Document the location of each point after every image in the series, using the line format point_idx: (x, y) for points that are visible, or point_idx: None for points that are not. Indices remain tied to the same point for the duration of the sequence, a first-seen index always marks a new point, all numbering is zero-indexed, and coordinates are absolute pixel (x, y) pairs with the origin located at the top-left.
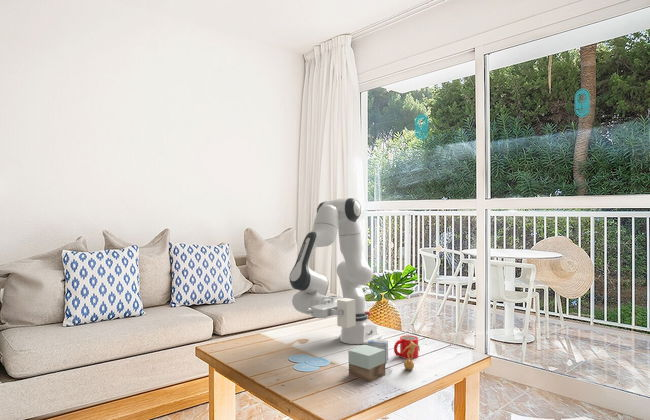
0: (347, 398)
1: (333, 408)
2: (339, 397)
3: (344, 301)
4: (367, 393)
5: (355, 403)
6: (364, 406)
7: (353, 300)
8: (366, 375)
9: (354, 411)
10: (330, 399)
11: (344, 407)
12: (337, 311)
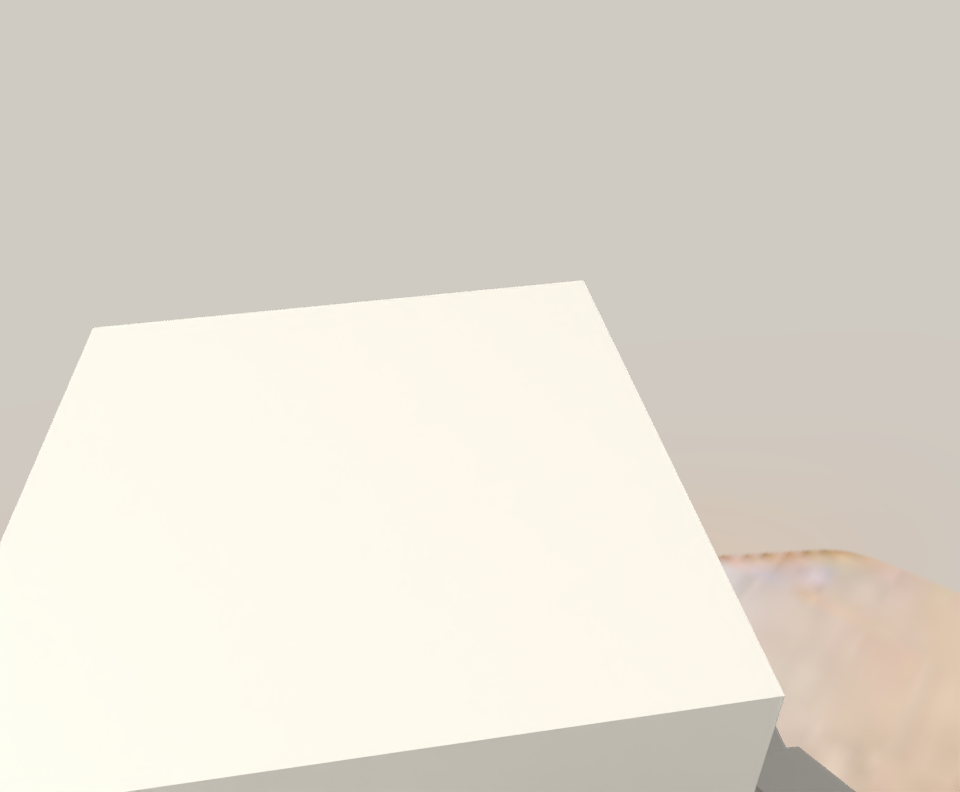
0: (782, 718)
1: (947, 655)
2: (838, 767)
3: (608, 350)
4: None
5: (763, 631)
6: (729, 576)
7: (211, 331)
8: None
9: (820, 563)
10: (928, 780)
11: (863, 628)
12: (788, 771)
